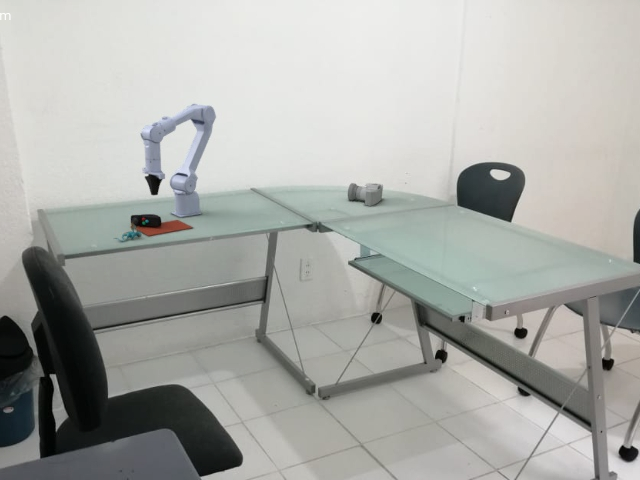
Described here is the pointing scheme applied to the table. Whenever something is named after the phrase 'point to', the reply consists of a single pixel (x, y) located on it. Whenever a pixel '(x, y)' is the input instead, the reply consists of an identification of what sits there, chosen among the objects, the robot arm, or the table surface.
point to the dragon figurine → (131, 233)
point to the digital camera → (366, 193)
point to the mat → (164, 228)
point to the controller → (146, 220)
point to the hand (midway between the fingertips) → (154, 194)
